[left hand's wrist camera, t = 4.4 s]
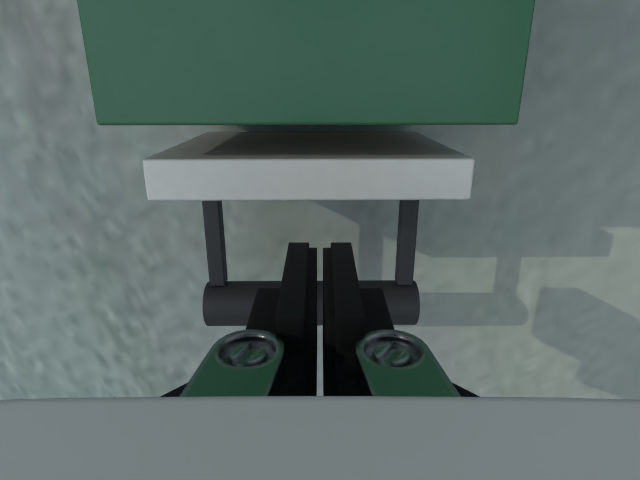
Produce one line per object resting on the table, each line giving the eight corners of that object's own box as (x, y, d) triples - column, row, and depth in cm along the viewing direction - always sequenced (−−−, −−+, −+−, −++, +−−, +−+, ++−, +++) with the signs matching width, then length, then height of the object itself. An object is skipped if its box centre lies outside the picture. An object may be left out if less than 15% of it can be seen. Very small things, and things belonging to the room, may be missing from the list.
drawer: (405, 277, 22) (451, 372, 15) (218, 278, 22) (169, 374, 14) (441, -238, 15) (555, -529, 8) (175, -240, 15) (47, -536, 8)
